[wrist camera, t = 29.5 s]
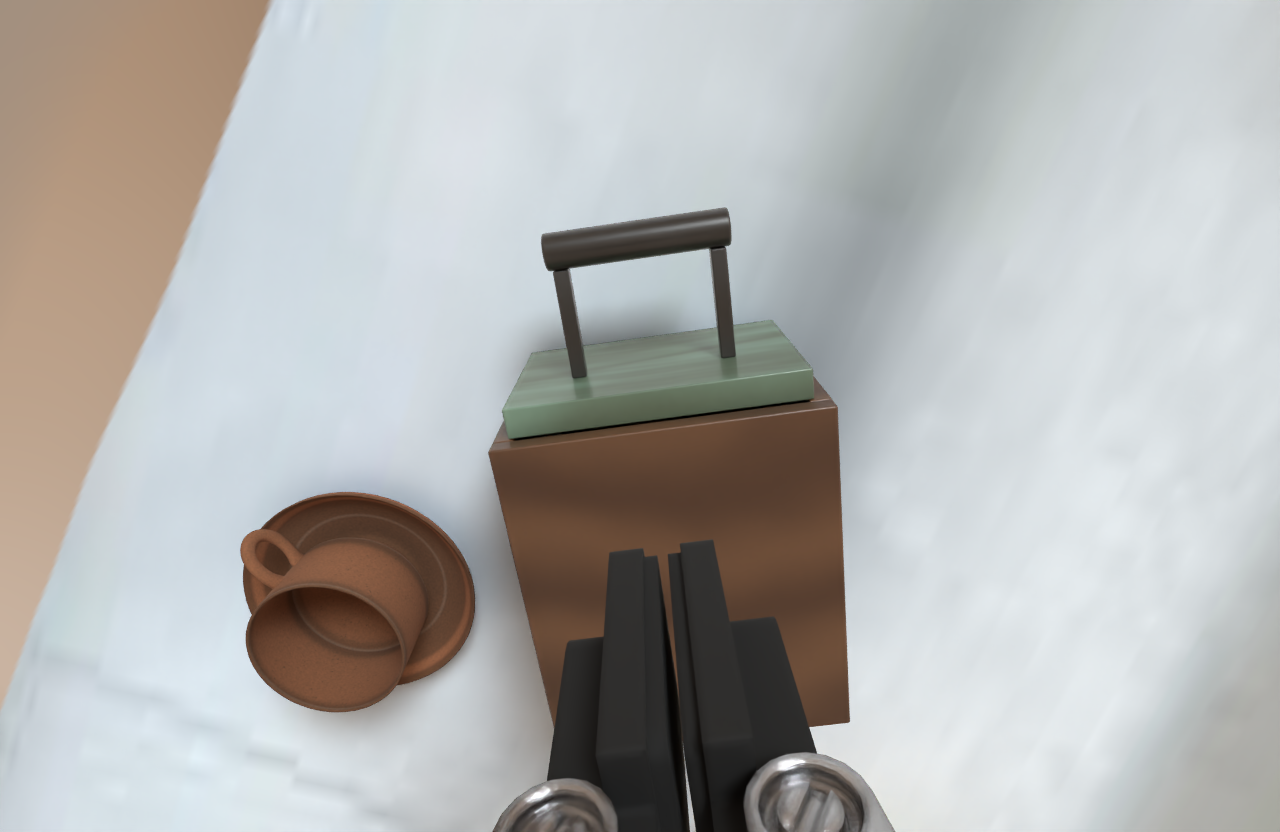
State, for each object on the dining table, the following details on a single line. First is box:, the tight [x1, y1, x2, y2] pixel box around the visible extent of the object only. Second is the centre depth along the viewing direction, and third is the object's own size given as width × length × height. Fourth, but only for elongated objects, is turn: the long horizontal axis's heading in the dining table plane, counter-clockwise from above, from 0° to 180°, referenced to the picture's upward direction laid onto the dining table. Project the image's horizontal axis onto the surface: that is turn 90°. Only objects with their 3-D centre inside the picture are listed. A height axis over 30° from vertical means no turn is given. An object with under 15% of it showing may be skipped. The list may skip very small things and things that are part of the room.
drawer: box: [502, 208, 814, 439], centre depth 30 cm, size 19×11×8 cm, turn 8°
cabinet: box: [488, 376, 850, 740], centre depth 31 cm, size 15×13×10 cm
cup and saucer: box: [240, 492, 475, 712], centre depth 35 cm, size 12×12×6 cm
